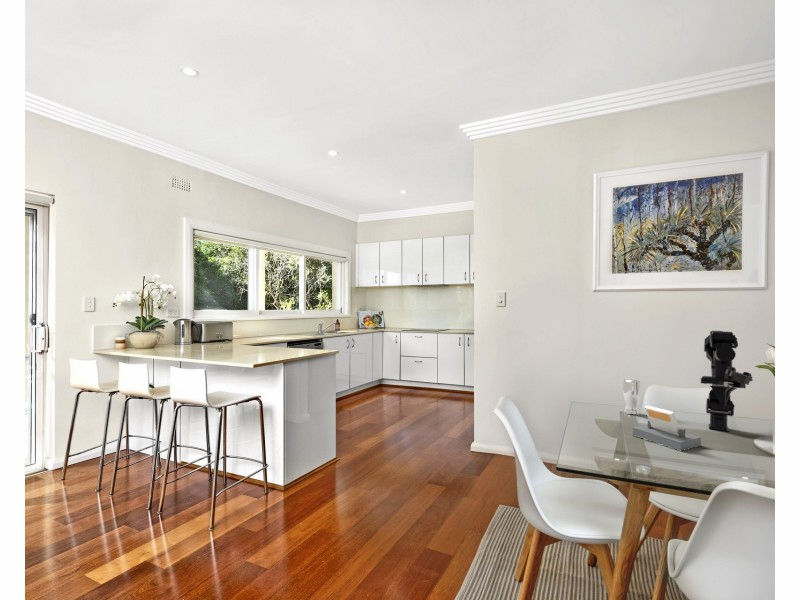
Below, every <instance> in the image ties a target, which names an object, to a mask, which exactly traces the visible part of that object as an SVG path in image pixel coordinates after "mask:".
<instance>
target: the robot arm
mask: <svg viewBox="0 0 800 600" xmlns="http://www.w3.org/2000/svg"><path fill="white" fill-rule="evenodd" d="M738 347H739V342H738V338H737V337H736V335H735V334H734V333H733V331H723V330H711V331H710V332H709V334H708V335H707V336H706V337H705V338H704V340H703V352H705V357H706V358H707V360H708V361H710V368H711V369H710V372H711V373H710V374H711V376H709V375H707V376H706V375H703V376H702V377H701V378H700V384H705V385H710V386H709V387H710V391H709V393H708V398H706V401H705V411H706V414H709V423H708V429H709V430H712V431H713V430H715V431H722V432H730V429H729V426H728V416H729V417H733V416H734V415H735V414H734V413H735V412H734V411H735V407H736V406H735V404H734V402H733V400H731V393H732V392H734V391H736V390H737V389H746V387H747V386H749V384H750V382H754V381H753V375H752V373H751V372H747V371H743V372H739V371H737V369H736V367H734V366H733V360H734V359H735V358H736V355H737V354H736V351H735V350H734V349H737V348H738ZM746 385H747V386H746Z"/></svg>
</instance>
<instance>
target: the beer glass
mask: <svg viewBox="0 0 800 600" xmlns="http://www.w3.org/2000/svg"><path fill="white" fill-rule="evenodd" d="M622 384H623V385H622V391H623V392H622V393H623V394H622V395H623V399H624V400H623V401H624V410H623V413H624V412H627V413H634V414H638V413H639V414H640V411H639V401H640V397H641V382H640V381H639V380H636V379H623V383H622Z"/></svg>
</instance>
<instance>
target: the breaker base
mask: <svg viewBox="0 0 800 600" xmlns="http://www.w3.org/2000/svg"><path fill="white" fill-rule="evenodd" d="M633 435H636V436H639V437H642V438H645V439H648V440H651V441H654V442H657V443H660V444H663V445H666V446H669V447H672V448H675V449H678V450H684V449H688V448H692V449H694V448H693V447H695V448H698V446H699V447H701V446H702V437H701V436H697V435H695V434H691V433H687V432H686V429H685V428H679V434H678V435H677V434H674V433H670V432H667V431H663V430H660V429H657V428H653V427H651V424H650V421H649V420H647V424H645V425H640V426H639V425H638V426H634V427H632V436H633ZM672 448H671V449H672ZM675 449H674V450H675ZM678 450H677V451H678ZM688 450H689V449H688ZM684 451H685V450H684Z"/></svg>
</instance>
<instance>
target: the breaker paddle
mask: <svg viewBox="0 0 800 600" xmlns="http://www.w3.org/2000/svg"><path fill="white" fill-rule="evenodd" d="M644 410H645V413H646V415H647V419H648V421H650V424H651V427H653V428H657V429H660V430H663V431H667V432H670V433H674V434H677V435H678V434H679V429H680V427H679V424H678V421H677V418H676V415H675V413H674V411H672V410H668V409H663V408H659V407H655V406H651V405H645V407H644Z"/></svg>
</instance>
